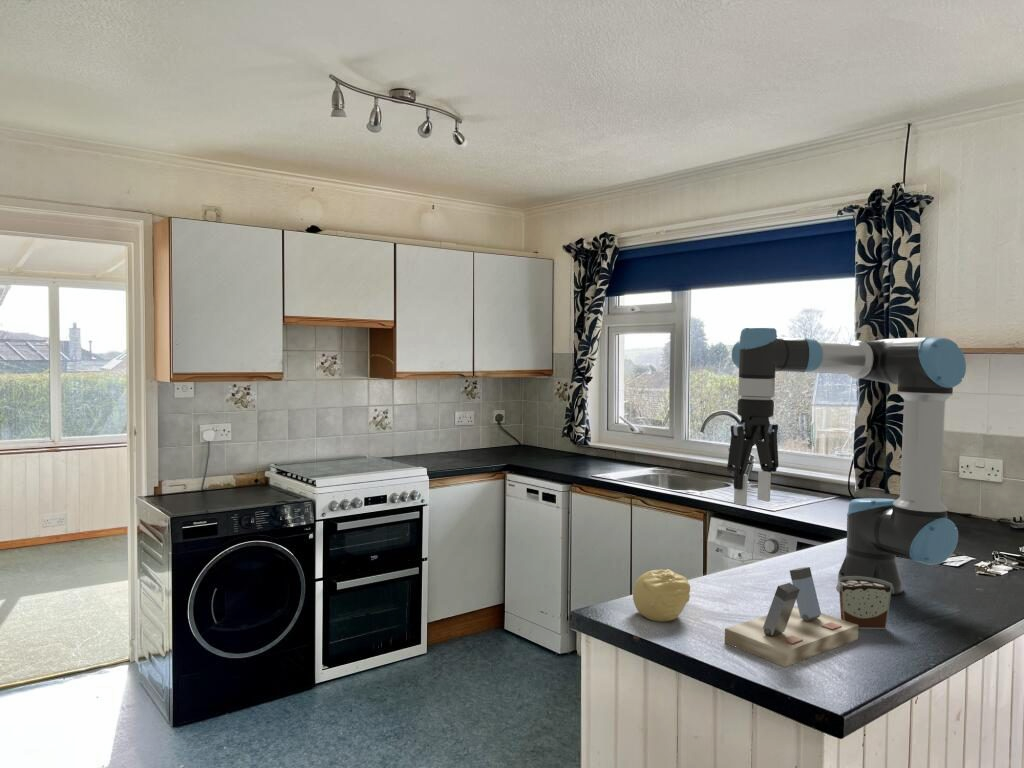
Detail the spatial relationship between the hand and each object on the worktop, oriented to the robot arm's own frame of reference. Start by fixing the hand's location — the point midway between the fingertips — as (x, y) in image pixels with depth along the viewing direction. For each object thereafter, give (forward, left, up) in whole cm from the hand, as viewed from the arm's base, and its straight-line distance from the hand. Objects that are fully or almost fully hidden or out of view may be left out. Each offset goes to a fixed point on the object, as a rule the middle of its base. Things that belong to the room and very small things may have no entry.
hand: (752, 502), depth 160 cm
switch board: (0, +11, -27) cm, 29 cm away
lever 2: (-7, +11, -24) cm, 27 cm away
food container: (-22, +13, -27) cm, 37 cm away
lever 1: (+7, +11, -24) cm, 27 cm away
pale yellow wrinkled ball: (+13, -14, -27) cm, 33 cm away
